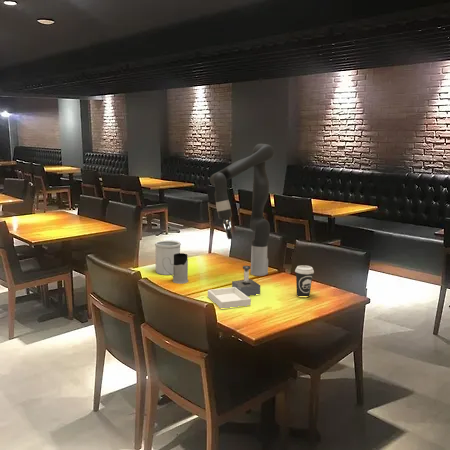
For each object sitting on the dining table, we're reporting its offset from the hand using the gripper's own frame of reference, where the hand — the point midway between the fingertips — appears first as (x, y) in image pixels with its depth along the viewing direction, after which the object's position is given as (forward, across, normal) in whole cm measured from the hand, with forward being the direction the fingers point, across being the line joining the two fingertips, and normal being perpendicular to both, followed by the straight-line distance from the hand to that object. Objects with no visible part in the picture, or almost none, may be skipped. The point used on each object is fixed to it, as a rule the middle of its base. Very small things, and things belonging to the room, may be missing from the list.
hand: (229, 238), depth 273 cm
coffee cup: (+35, -20, -30) cm, 50 cm away
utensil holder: (+14, +21, +39) cm, 46 cm away
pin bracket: (+28, -16, -2) cm, 32 cm away
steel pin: (+28, -16, -2) cm, 32 cm away
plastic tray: (+27, -29, +8) cm, 40 cm away
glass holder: (+18, +3, +34) cm, 39 cm away
